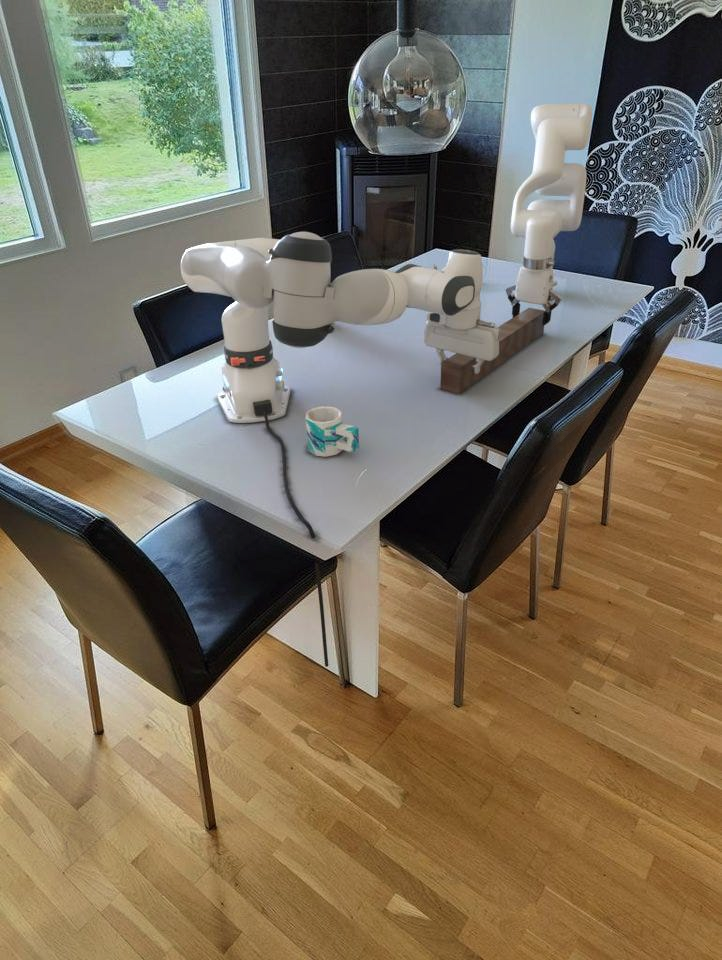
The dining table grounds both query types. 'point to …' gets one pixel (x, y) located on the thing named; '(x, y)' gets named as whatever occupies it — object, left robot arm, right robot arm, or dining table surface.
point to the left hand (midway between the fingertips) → (459, 368)
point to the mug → (329, 432)
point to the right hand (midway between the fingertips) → (530, 320)
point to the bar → (510, 342)
